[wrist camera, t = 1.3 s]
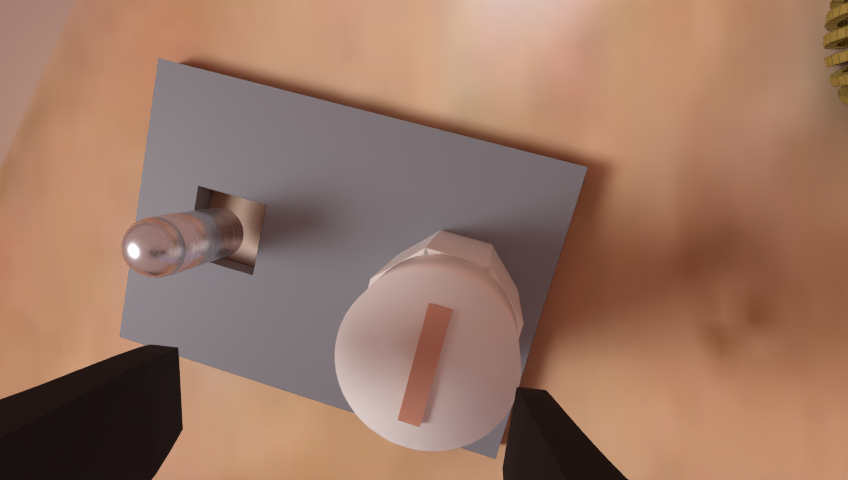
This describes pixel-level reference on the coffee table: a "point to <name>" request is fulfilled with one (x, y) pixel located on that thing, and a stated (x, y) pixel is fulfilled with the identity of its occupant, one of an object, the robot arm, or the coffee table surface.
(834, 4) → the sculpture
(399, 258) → the knob
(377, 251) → the board
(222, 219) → the post
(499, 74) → the coffee table surface
